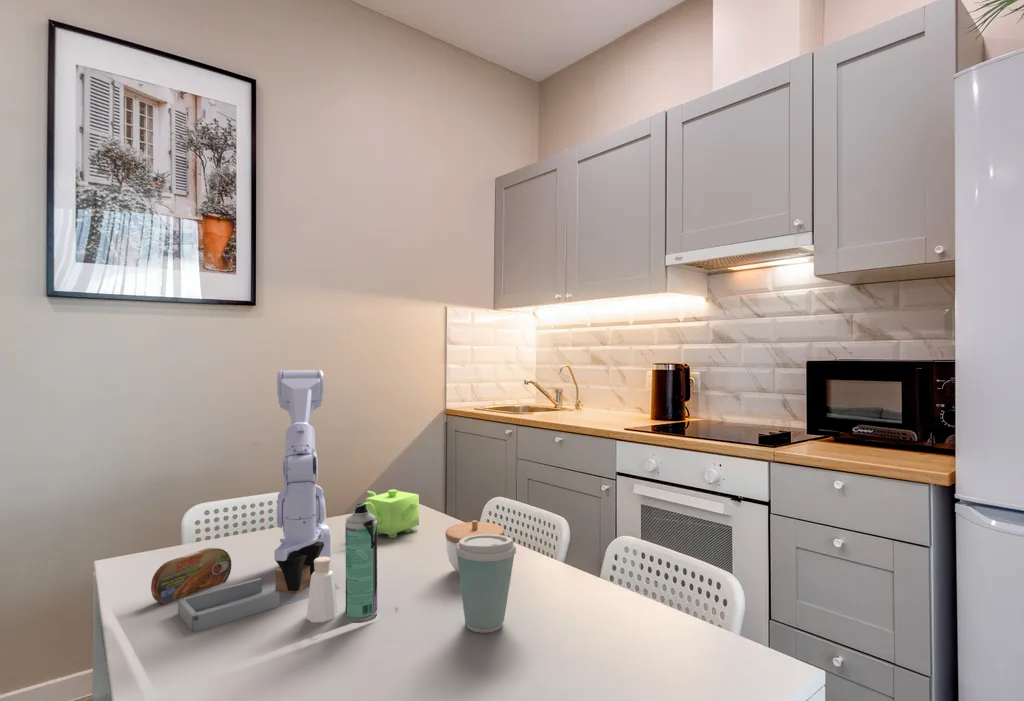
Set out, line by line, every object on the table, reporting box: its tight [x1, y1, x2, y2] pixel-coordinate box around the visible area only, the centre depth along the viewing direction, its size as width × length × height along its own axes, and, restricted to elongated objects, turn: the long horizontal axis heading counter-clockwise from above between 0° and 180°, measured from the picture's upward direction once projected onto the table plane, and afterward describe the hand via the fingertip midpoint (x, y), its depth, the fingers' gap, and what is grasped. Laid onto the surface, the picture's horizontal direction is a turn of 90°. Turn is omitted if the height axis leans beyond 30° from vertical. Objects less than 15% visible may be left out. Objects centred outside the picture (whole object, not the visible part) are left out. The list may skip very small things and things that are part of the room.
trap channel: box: [177, 577, 341, 633], centre depth 107 cm, size 26×10×4 cm, turn 133°
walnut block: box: [274, 565, 310, 594], centre depth 113 cm, size 4×5×4 cm
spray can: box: [344, 502, 378, 624], centre depth 103 cm, size 6×6×20 cm
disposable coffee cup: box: [455, 534, 517, 633], centre depth 99 cm, size 11×11×15 cm
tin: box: [150, 547, 232, 606], centre depth 112 cm, size 15×3×8 cm, turn 151°
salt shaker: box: [306, 557, 339, 623], centre depth 101 cm, size 5×5×11 cm
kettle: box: [364, 489, 420, 539], centre depth 152 cm, size 15×14×11 cm
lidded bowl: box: [445, 519, 505, 576], centre depth 123 cm, size 13×13×11 cm
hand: (300, 585), depth 112 cm, fingers closed on walnut block, 4 cm apart
